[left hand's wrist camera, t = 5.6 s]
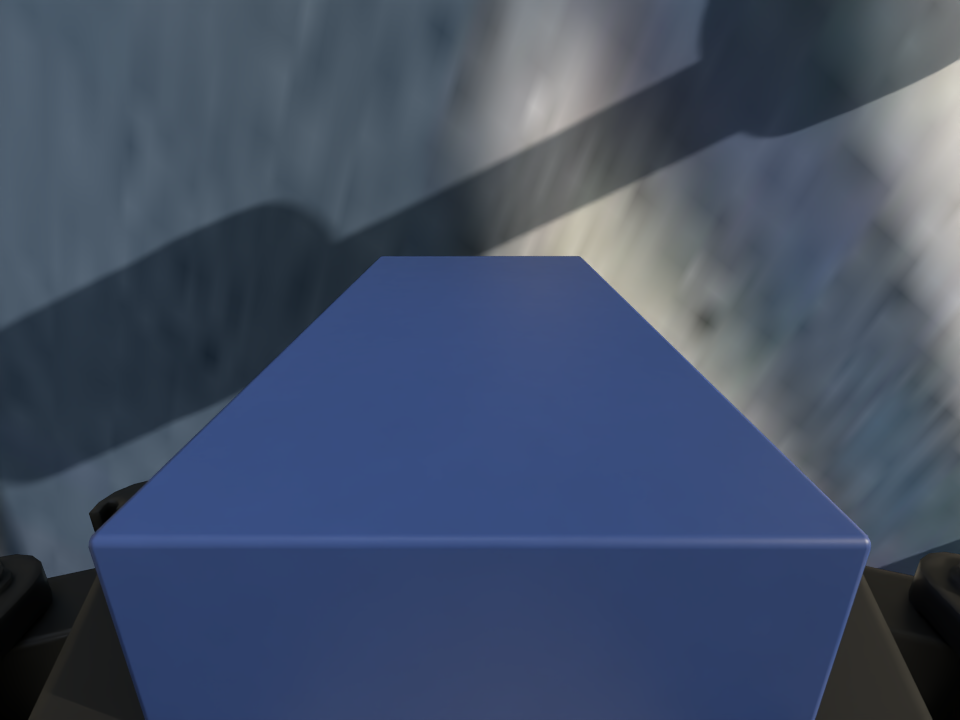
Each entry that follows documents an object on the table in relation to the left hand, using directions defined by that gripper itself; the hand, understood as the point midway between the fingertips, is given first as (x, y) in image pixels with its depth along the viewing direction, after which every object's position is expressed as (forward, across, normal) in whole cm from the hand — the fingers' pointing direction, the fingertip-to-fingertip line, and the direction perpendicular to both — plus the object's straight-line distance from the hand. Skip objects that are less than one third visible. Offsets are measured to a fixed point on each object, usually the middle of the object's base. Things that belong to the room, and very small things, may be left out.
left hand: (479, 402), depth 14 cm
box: (+3, 0, -10) cm, 10 cm away
